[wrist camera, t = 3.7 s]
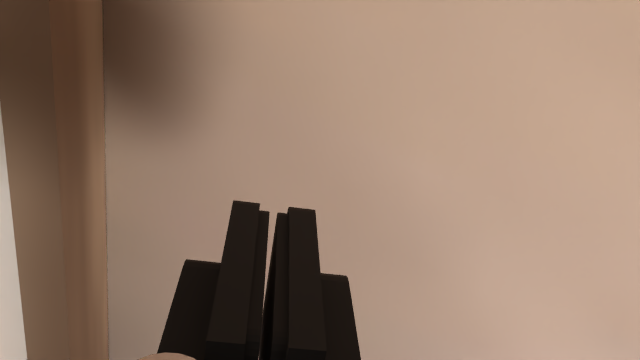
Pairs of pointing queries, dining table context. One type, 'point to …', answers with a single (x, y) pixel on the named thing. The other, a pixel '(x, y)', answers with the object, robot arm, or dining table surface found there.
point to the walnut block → (57, 172)
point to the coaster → (9, 273)
